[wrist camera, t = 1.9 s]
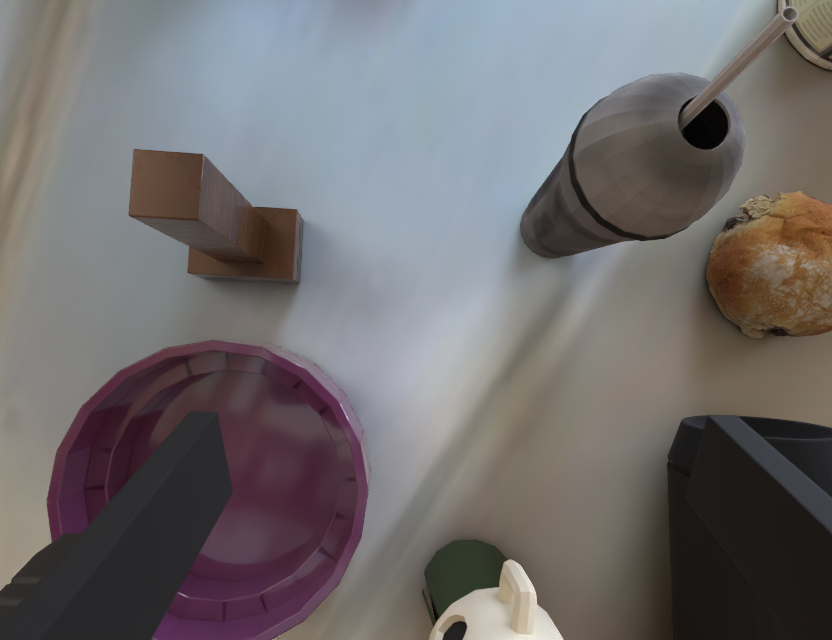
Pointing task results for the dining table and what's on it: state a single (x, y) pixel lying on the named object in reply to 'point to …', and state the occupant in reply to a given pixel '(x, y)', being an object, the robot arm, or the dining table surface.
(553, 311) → the dining table surface
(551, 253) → the beverage cup
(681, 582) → the portable speaker
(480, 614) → the character mug
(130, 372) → the bowl
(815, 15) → the coffee can
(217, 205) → the wooden stamp
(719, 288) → the bread roll
